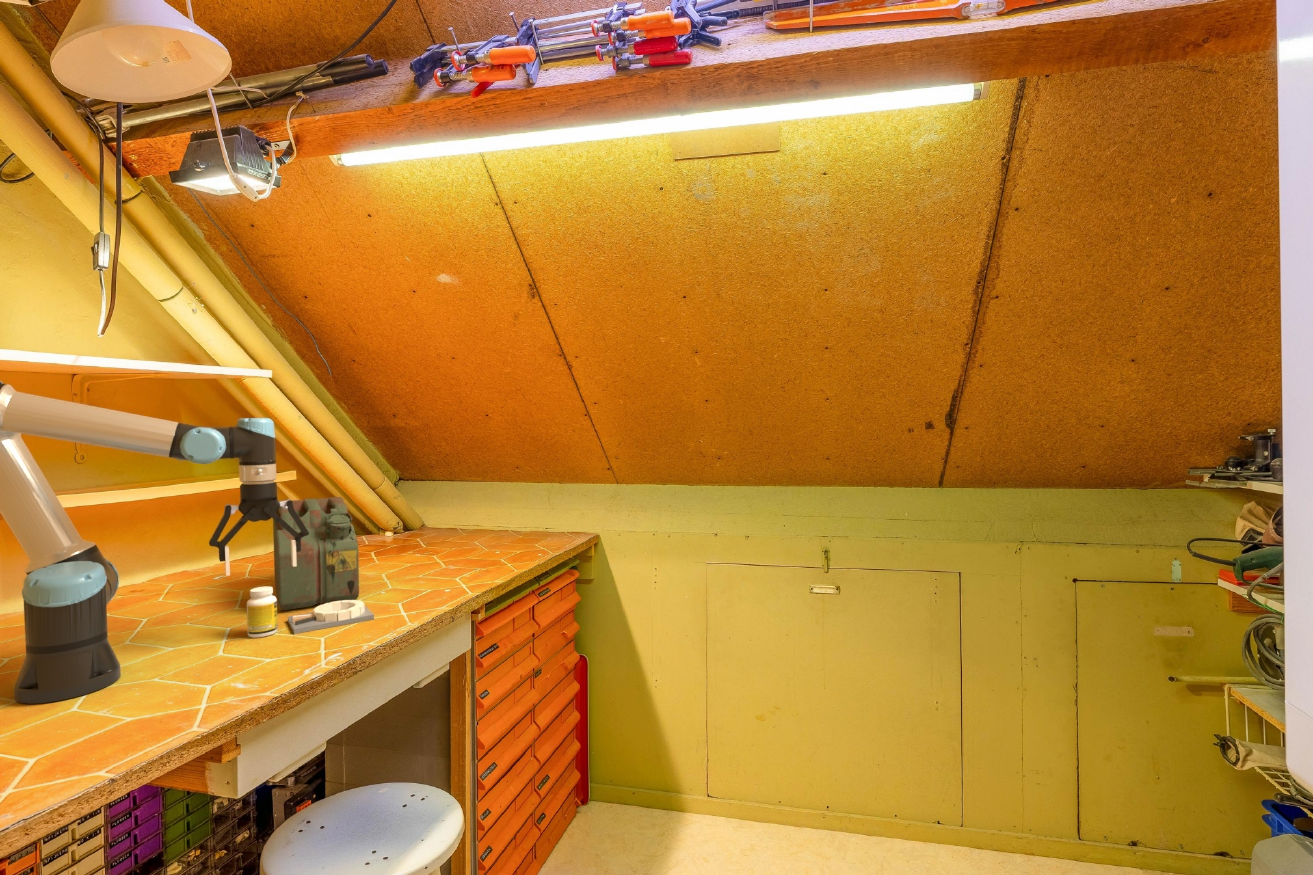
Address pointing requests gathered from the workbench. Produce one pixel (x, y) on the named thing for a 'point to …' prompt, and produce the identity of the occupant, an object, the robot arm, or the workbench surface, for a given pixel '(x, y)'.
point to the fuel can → (316, 555)
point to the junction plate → (327, 624)
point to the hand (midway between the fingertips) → (261, 570)
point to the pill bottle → (262, 612)
